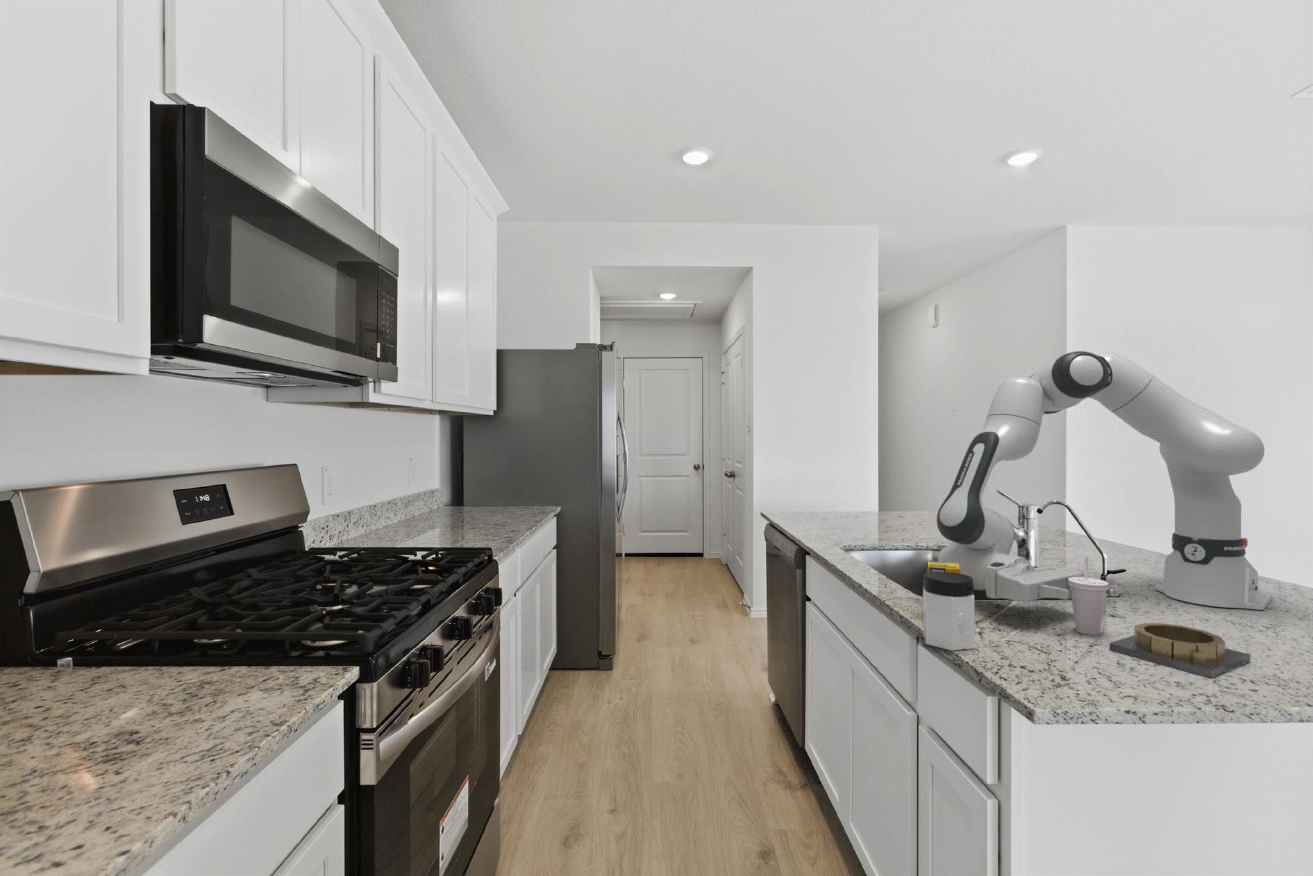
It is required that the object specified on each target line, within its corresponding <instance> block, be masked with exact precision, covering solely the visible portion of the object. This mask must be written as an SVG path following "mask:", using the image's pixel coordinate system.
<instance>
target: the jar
mask: <svg viewBox="0 0 1313 876" xmlns="http://www.w3.org/2000/svg"><path fill="white" fill-rule="evenodd" d="M922 588H923V589H922V590H923V591H922V621H923V622H922V623H923V624H922V637H923V639H924V642H925V644H926V645H928V646H931V647H935V648H939V649H943V650H947V651H951V652H953V651H954V652H955V650H956V651H963V650H962V649H966V650H972V649H973V650H974V649H975V609H976V608H975V602H976V601H975V595H974V584H973V578H972V577H970V576H967V575H964V574H960V573H953V572H928V573H927V572H925V573H924V574H923V587H922Z"/></svg>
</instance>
